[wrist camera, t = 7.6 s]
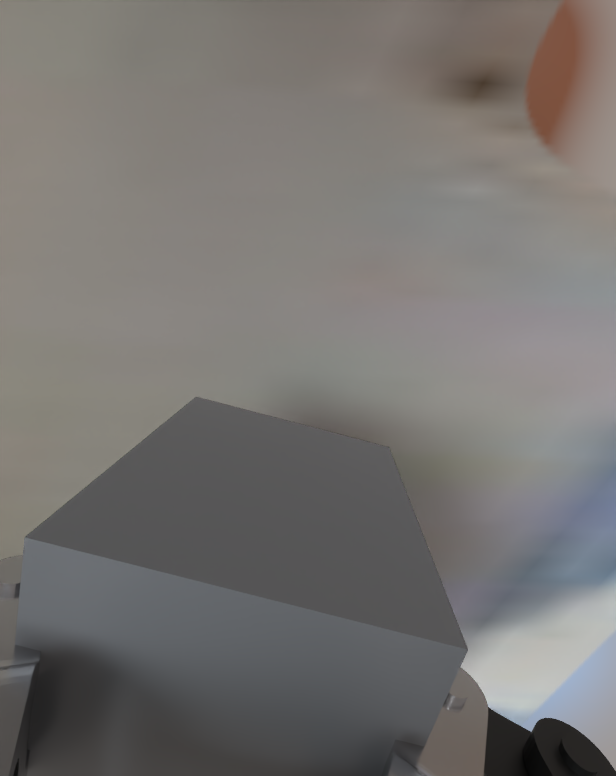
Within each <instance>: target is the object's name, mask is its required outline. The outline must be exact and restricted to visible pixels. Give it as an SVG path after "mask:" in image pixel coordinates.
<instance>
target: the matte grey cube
mask: <svg viewBox="0 0 616 776" xmlns="http://www.w3.org/2000/svg"><path fill="white" fill-rule="evenodd" d="M15 645H19V646H23V647H27V648H31V649H35V650H39V651H41V658H40V667H39V675H38V680H37V685H36V690H35V695H34V701H33V707H32V713H31V721H30V730H29V739H28V748H27V749H28V750H30V755H29V763H28V772H27V776H382V773H383V770H384V767H385V763H386V761H387V758H388V756H389V753H390V751H391V749H392V746H393V744H394V741H395V739H396V740H400V741H404V742H408V743H412V744H416V745H420V746H424V747H425V744H426V742H427V740H428V738H429V735H430V733H431V731H432V729H433V727H434V724H435V722H436V720H437V718H438V715H439V713H440V711H441V709H442V706H443V704H444V702H445V700H446V698H447V695H448V693H449V691H450V689H451V686H452V684H453V682H454V680H455V677H456V675H457V673H458V671H459V669H460V666H461V664H462V662H463V660H464V657H465V655H466V653H467V651H468V649H467V646H466V643H465V641H464V638H463V636H462V633H461V631H460V628H459V625H458V623H457V620H456V618H455V615H454V613H453V610H452V608H451V605H450V602H449V600H448V597H447V595H446V592H445V590H444V587H443V585H442V582H441V579H440V577H439V574H438V572H437V569H436V567H435V564H434V562H433V559H432V556H431V554H430V551H429V549H428V546H427V544H426V541H425V538H424V536H423V533H422V531H421V528H420V526H419V523H418V521H417V518H416V515H415V513H414V510H413V508H412V505H411V503H410V500H409V498H408V495H407V492H406V490H405V487H404V485H403V482H402V480H401V477H400V474H399V472H398V469H397V467H396V464H395V462H394V459H393V457H392V454H391V451H390V449H389V447H386V446H383V445H379V444H375V443H371V442H367V441H364V440H360V439H356V438H352V437H348V436H344V435H341V434H337V433H333V432H329V431H325V430H321V429H318V428H314V427H310V426H306V425H302V424H298V423H295V422H291V421H287V420H283V419H279V418H276V417H272V416H268V415H264V414H260V413H256V412H253V411H249V410H245V409H241V408H237V407H233V406H230V405H226V404H222V403H218V402H214V401H211V400H207V399H203V398H199V397H195V398H194V399H193V400H191V401H190V402H189V403H188V404H187V405H185V406H184V407H183V408H182V409H180V410H179V411H178V412H177V413H176V414H174V415H173V416H172V417H171V418H170V419H168V420H167V421H166V422H165V423H163V424H162V425H161V426H160V427H159V428H157V429H156V430H155V431H154V432H152V433H151V434H150V435H149V436H148V437H146V438H145V439H144V440H143V441H141V442H140V443H139V444H138V445H137V446H135V447H134V448H133V449H132V450H130V451H129V452H128V453H127V454H126V455H124V456H123V457H122V458H121V459H120V460H118V461H117V462H116V463H115V464H113V465H112V466H111V467H110V468H109V469H107V470H106V471H105V472H104V473H102V474H101V475H100V476H99V477H98V478H96V479H95V480H94V481H93V482H91V483H90V484H89V485H88V486H87V487H85V488H84V489H83V490H82V491H80V492H79V493H78V494H77V495H76V496H74V497H73V498H72V499H71V500H69V501H68V502H67V503H66V504H65V505H63V506H62V507H61V508H60V509H59V510H57V511H56V512H55V513H54V514H52V515H51V516H50V517H49V518H48V519H46V520H45V521H44V522H43V523H41V524H40V525H39V526H38V527H37V528H35V529H34V530H33V531H32V532H30V533H29V534H28V535H27V536H26V537H25V539H24V550H23V561H22V572H21V583H20V594H19V604H18V615H17V626H16V637H15Z"/></svg>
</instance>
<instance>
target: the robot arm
mask: <svg viewBox="0 0 616 776" xmlns="http://www.w3.org/2000/svg"><path fill="white" fill-rule="evenodd" d="M22 561H23V555H21V556H14V557H9V558H5V559H2V560H0V776H27V772H28V763H29V755H30V750H28V749H27V748H28V739H29V730H30V721H31V713H32V707H33V701H34V695H35V690H36V685H37V680H38V675H39V667H40V658H41V651H39V650H35V649H31V648H27V647H23V646H19V645H15V637H16V626H17V615H18V604H19V594H20V583H21V572H22ZM382 776H616V771H615V770H614V768H613V767H612V765H611V764H610V763H609V761H608V760H607V759H606V757H605V756H604V755H603V754H602V752H601V751H600V750H599V749H598V748H597V747H596V746H595V745H594V744H593V743H592V742H591V741H590V740H589V739H588V738H587V737H585V736H584V735H583V734H582V733H580V732H579V731H578V730H576V729H575V728H573V727H571V726H570V725H568V724H566V723H564V722H562V721H559V720H556V719H552V718H544V719H541V720H539V721H538V722H537V723H536V725H535V727H534V729H533V730H532V732H530V731H528V730H526V729H525V728H523V727H521V726H519V725H517V724H516V723H514V722H512V721H510V720H508V719H507V718H505V717H503V716H501V715H499V714H498V713H496V712H494V711H493V710H491V709H490V708H489V707H488V705H487V701H486V699H485V696H484V694H483V692H482V690H481V689H480V687H479V686H478V684H477V683H476V682H475V681H474V679H473V678H472V677H471V676H470V675H469V674H468V673H467V672H465V671H464V670H463V669H462V668H460V669H459V671H458V673H457V675H456V677H455V680H454V682H453V684H452V686H451V689H450V691H449V693H448V695H447V698H446V700H445V702H444V704H443V706H442V709H441V711H440V713H439V715H438V718H437V720H436V722H435V724H434V727H433V729H432V731H431V733H430V735H429V738H428V740H427V742H426V744H425V747H424V746H420V745H416V744H412V743H408V742H404V741H400V740H396V739H395V741H394V744H393V746H392V749H391V751H390V753H389V756H388V758H387V761H386V763H385V767H384V770H383V773H382Z"/></svg>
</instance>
